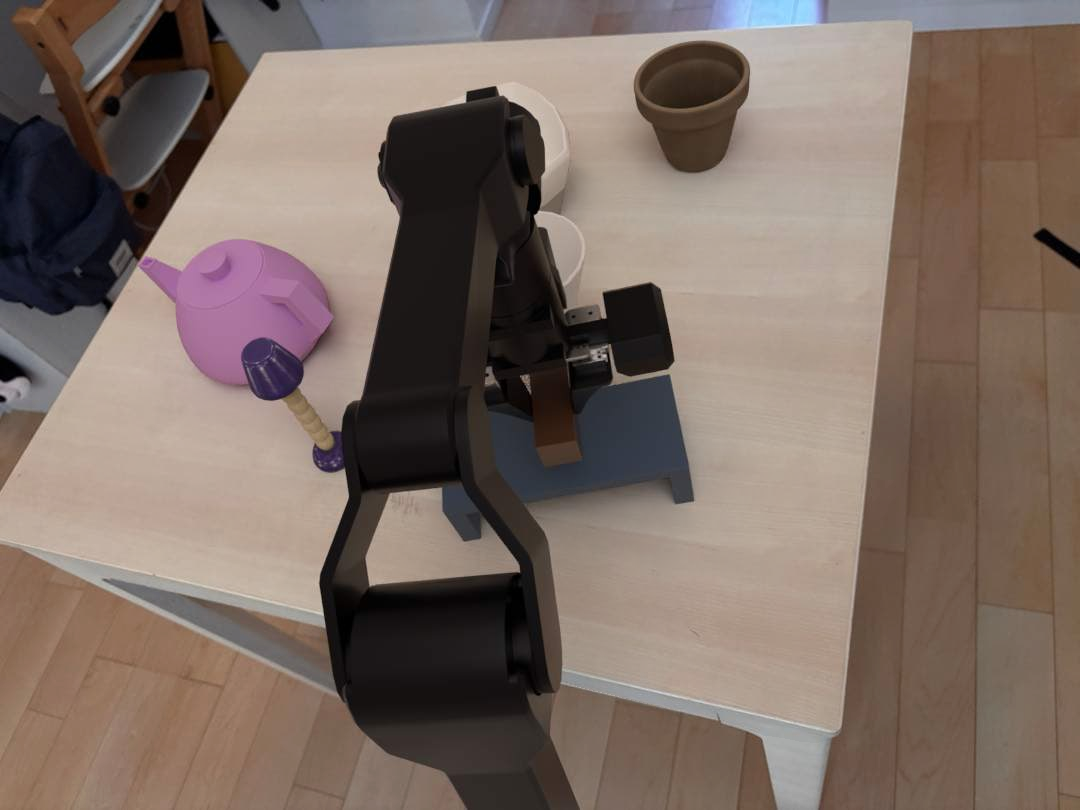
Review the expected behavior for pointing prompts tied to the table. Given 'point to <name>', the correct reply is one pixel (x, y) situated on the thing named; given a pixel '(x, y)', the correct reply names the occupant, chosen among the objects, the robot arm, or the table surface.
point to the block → (554, 418)
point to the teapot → (241, 304)
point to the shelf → (589, 451)
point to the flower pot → (693, 100)
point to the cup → (565, 252)
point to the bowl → (552, 135)
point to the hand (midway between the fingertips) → (556, 412)
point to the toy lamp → (290, 396)
